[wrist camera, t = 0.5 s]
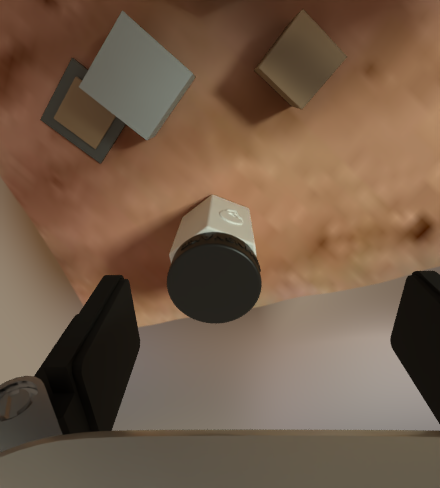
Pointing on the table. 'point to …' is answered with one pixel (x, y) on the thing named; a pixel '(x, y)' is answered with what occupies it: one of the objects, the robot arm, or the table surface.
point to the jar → (214, 262)
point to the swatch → (81, 115)
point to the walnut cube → (300, 61)
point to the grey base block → (136, 78)
